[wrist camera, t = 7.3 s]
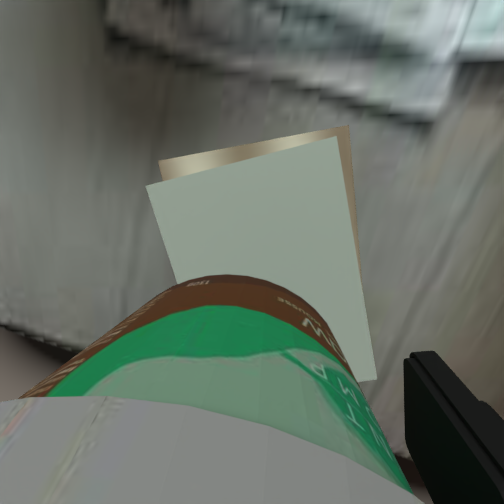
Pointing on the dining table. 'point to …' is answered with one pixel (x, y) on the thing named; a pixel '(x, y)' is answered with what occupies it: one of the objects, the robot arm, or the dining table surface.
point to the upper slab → (274, 234)
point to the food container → (202, 410)
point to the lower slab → (243, 152)
